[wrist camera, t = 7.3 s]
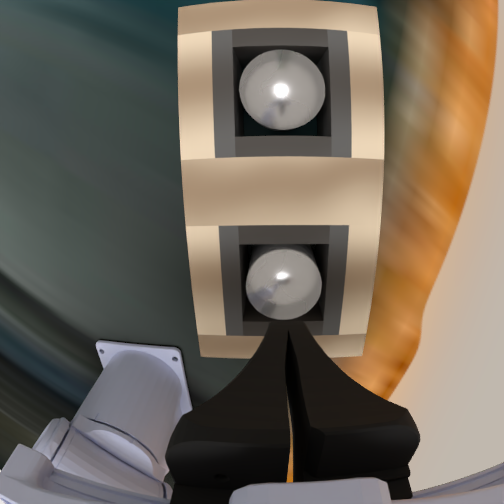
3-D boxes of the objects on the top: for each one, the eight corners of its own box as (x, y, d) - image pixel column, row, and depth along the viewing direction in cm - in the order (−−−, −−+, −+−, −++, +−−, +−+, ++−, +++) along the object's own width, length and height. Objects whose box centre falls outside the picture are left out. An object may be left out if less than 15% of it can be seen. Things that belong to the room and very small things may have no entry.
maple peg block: (347, 315, 23) (361, 355, 19) (213, 315, 24) (200, 356, 19) (354, 33, 16) (376, 7, 12) (199, 34, 17) (178, 7, 12)
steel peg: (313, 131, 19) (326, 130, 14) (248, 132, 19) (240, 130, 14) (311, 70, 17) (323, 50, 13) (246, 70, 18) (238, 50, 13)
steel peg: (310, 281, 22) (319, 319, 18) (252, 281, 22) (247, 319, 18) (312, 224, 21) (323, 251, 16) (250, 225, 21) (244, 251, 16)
